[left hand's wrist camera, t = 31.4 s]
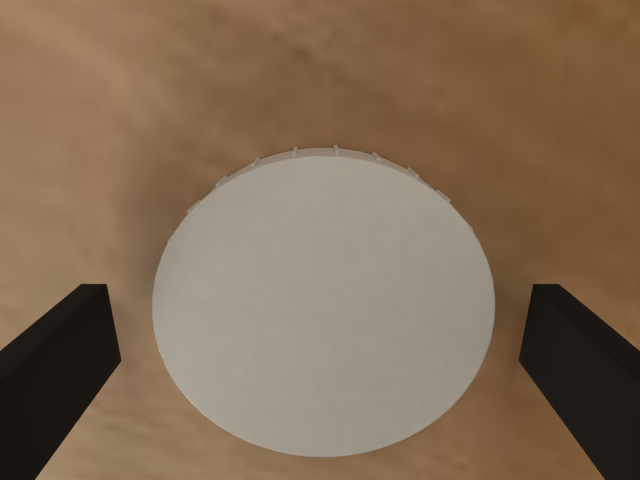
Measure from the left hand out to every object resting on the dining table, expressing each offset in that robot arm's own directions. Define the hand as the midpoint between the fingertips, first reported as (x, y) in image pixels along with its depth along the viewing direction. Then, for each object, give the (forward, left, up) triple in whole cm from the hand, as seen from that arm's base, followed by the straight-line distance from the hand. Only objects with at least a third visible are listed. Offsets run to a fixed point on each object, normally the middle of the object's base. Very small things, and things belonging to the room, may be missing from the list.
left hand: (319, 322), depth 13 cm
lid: (0, 0, 0) cm, 0 cm away
